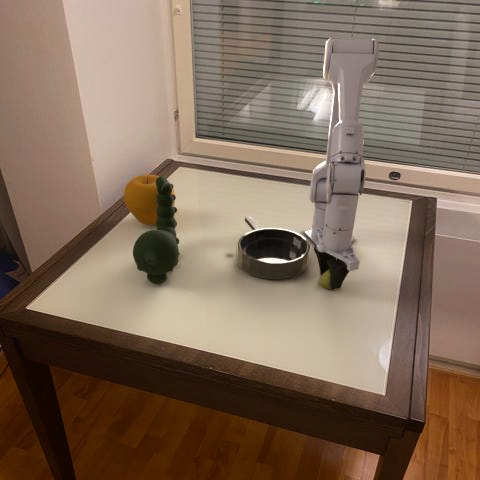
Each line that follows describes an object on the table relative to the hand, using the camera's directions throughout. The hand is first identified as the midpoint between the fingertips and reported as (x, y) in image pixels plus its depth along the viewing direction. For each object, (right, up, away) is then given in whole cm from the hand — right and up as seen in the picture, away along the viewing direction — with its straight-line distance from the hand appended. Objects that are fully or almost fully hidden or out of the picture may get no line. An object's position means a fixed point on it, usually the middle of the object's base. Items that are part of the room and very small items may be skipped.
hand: (330, 282), depth 105 cm
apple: (-42, +18, +25) cm, 52 cm away
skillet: (-12, +5, +9) cm, 16 cm away
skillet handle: (-16, +15, +16) cm, 26 cm away
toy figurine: (-36, +4, +7) cm, 37 cm away
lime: (0, -1, +1) cm, 2 cm away
